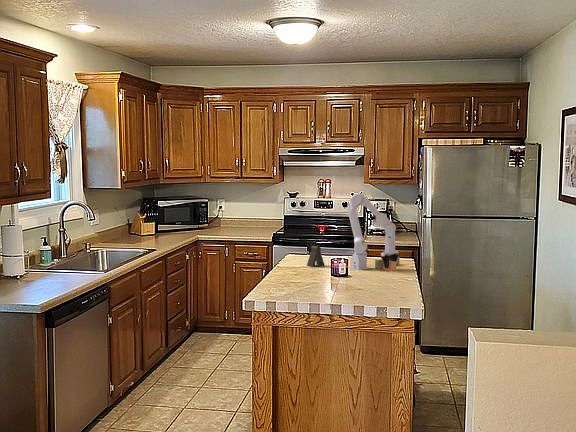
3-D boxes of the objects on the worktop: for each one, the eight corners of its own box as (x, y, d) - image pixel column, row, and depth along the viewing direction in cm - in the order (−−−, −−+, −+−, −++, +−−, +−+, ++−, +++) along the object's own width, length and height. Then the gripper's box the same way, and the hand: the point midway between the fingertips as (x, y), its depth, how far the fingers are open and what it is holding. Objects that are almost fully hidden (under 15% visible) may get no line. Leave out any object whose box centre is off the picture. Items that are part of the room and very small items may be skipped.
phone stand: (312, 267, 367) (312, 247, 366) (306, 266, 372) (306, 246, 372) (324, 266, 372) (324, 246, 371) (319, 264, 377) (319, 245, 376)
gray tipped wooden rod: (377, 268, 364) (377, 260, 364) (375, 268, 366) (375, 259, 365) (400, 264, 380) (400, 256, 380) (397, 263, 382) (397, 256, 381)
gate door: (378, 267, 366) (378, 260, 365) (377, 267, 366) (377, 260, 366) (392, 264, 375) (392, 258, 375) (390, 264, 376) (391, 257, 376)
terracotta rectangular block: (391, 271, 356) (392, 262, 355) (383, 269, 360) (383, 261, 359) (395, 270, 358) (396, 261, 358) (387, 269, 363) (387, 260, 362)
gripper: (388, 245, 350) (387, 269, 351) (403, 243, 360) (402, 266, 361) (378, 244, 355) (377, 268, 356) (393, 242, 365) (392, 265, 366)
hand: (389, 267), depth 359 cm, fingers open, 6 cm apart
